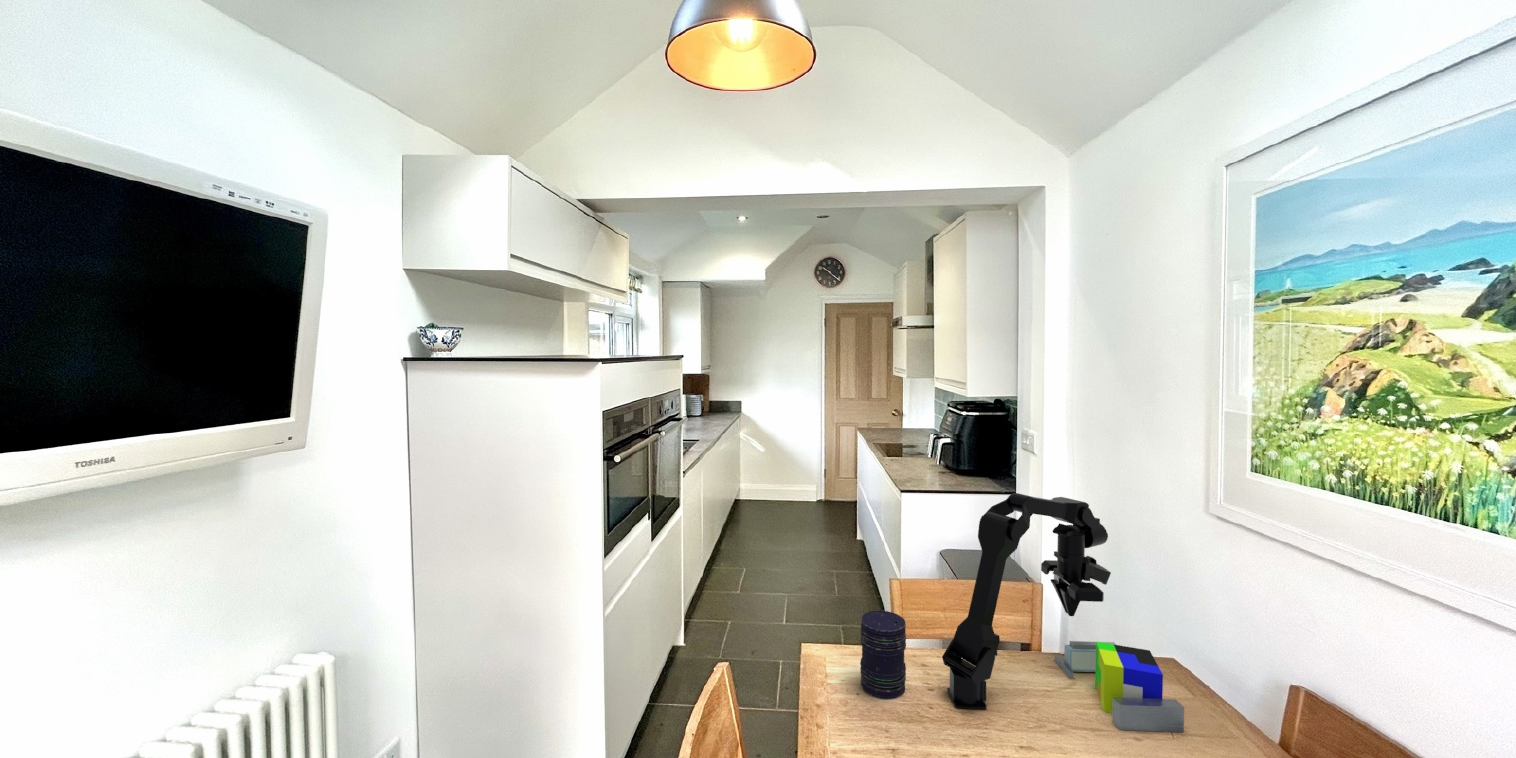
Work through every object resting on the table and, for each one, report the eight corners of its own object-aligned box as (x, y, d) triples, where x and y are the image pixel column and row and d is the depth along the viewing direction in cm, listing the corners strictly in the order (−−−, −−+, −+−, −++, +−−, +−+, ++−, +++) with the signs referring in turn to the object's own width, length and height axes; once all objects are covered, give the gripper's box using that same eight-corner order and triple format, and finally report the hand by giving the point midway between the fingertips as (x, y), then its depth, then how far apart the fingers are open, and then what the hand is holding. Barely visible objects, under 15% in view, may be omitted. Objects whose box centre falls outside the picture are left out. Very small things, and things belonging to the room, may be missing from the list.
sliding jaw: (1069, 671, 129) (1070, 646, 129) (1064, 665, 132) (1064, 640, 132) (1123, 673, 128) (1124, 647, 128) (1117, 667, 131) (1117, 641, 131)
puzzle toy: (1161, 723, 111) (1162, 674, 111) (1103, 711, 115) (1104, 664, 115) (1148, 695, 120) (1149, 650, 120) (1095, 685, 124) (1096, 641, 124)
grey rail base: (1113, 729, 109) (1114, 704, 109) (1054, 660, 134) (1054, 640, 134) (1189, 732, 108) (1190, 707, 108) (1115, 662, 133) (1116, 642, 133)
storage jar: (856, 694, 121) (856, 626, 121) (864, 670, 131) (864, 607, 130) (903, 703, 118) (903, 634, 117) (908, 678, 127) (908, 614, 126)
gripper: (1128, 566, 125) (1127, 634, 125) (1085, 539, 143) (1084, 598, 144) (1077, 564, 125) (1075, 633, 126) (1040, 538, 144) (1039, 597, 145)
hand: (1069, 614), depth 135 cm, fingers closed
